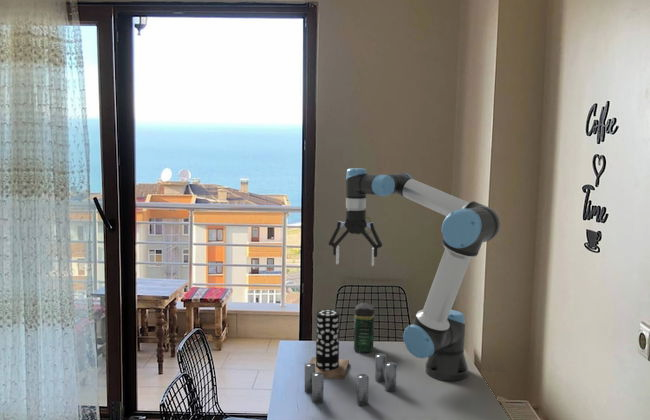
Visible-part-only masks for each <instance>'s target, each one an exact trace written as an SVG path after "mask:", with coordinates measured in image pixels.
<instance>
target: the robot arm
mask: <svg viewBox="0 0 650 420" xmlns="http://www.w3.org/2000/svg"><path fill="white" fill-rule="evenodd" d="M345 176H346V177H345V184H346V185H345V186H346V188H345V189H346V190H345V194H346V195H345V208H346V210H345V221H341V220H338V221H337V223H336V229H335V230H334V232H333V234H332V235H331V238H330V240H329V242H328V245H329V246H331V247H332V248H333V249H332V250H333V252H332V254H333V256H335V264H336V265H339V264H340V246H339V244H340V243H341V241H342V240H344V239H345V237H346V236H347V235H348V234H352V235H355V234H357V235H360V234H362V236H363V237H365V239H366V240H367V241H368V242H369V244H370V246H372V248H371V267H375V258H376V257H378V249H379V248H382V246H383V243H382V241H381V239H380V236H379V234H378V232H377V230H376V228H375V222H374V221H371V222H367V221H366V220H367V219H366V217H367V216H366V215H367V211H366V208H367V195H369V196H379V197H390V196H391V195H399V196H401V197H403V198H406V199H408V200H409V201H412V202H413V203H416V204H419V205H421V206H423V207H425V208H427V209H429V210H431V211H434V212H436V213H439V214H440V215H442V216H444V217H445V218H444V220H443V221H442V225H441V229H440V230H441V234H442V238H443V240H442V242H441V243H442V246H443V248H444V252H443V254H442V257H441V259H440V262H439V264H438V267H437V270H436V273H435V275H434V278H433V281H432V284H431V287H430V289H429V292H428V295H427V298H426V301H425V303H424V306H423V309H420V310H418V311H417V313H416V314H415V317H414V320H413V323H412V324H408V326H407V327H405V329H404V331H403V334H402V335H403V336H402V338H403V339H402V340H403V343H404V345H405V348H406V350H407V351H408V352H409V353H410V354H411V355H412V356H414V357H415V358H418V359H425V358H427V360H426V362H425V368H424V369H425V370H424V371H425V374H426V375H428V376H430V377H431V378H433V379H436V380H439V381H440V380H441V381H446V382H456V381H461V380H464V379H466V378H467V377H468V376H469V366H468V364H467V360H466V357H465V353H464V352H465V336H466V335H465V333H466V331H465V330H466V329H465V328H466V317H465V314H463V312H461V311H458V310H454V309H452V308H453V306H454V303H455V301H456V298H457V295H458V293H459V290H460V287H461V285H462V282H463V279H464V277H465V274H466V272H467V269H468V267H469V264H470V261H471V259H473V258H476V257H477V256H479V255H478V254H479V252H480V250H481V247H482V246H483V245H482V244H483V243H485V242H486V243H487V242H490V241H491V240H493V239H495V238H496V236H497V235H498V234H499V232H500V229H501V220H500V217H499V214H498V213H497V212H496V211H495V210H494V209H493V208H491V207H489V206H486V205H484V204H482V203H479V202H477V201H473V200H471V201H466V200H464V199H461V198H459V197H456V196H455V195H452V194H449V193H447V192H444V191H442V190H440V189H437V188H435V187H433V186H430V185H428V184H426V183H423V182H421V181H419V180H416V179H414V178H413V177H412V175H410V174H409V173H404V172H403V173H402V172H401V173H388V174H386V173H385V174H370V173H369V174H368V173H367V169H366V168H362V167H361V168H360V167H359V168H357V167H356V168H355V167H352V168H351V167H349V168H348V169H347V170H346V175H345ZM343 227H345V228H346V230H345V231H344V232H343V233H342V235H340V236H339V238H338V239H337V240H336V238H337V236H338V234H339V233H340V229H341V228H343ZM367 227H368V228H369V229H370V230H371V233H372V235H373V238H374V239H375V241H376V242H375V241H374V239H373V238H372V237H371V236H370V234H369V233H368V231H366V228H367ZM335 240H336V241H335Z"/></svg>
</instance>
